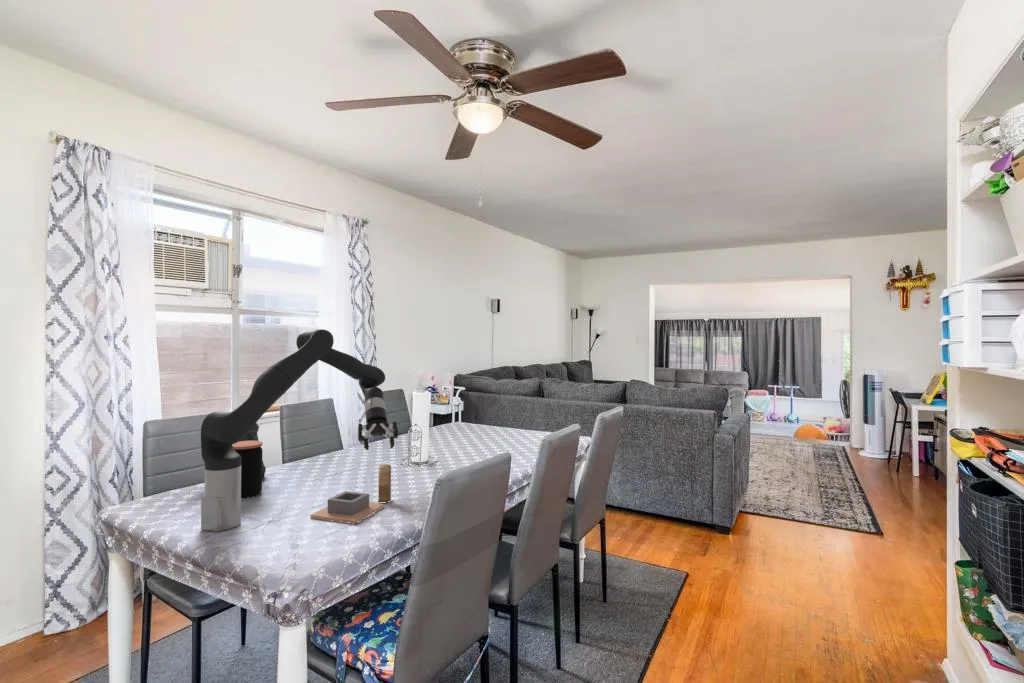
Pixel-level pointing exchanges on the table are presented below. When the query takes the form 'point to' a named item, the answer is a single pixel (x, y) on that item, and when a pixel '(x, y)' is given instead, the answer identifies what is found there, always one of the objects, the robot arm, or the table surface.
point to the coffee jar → (250, 467)
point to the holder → (347, 507)
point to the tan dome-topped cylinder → (384, 483)
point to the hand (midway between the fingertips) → (379, 448)
